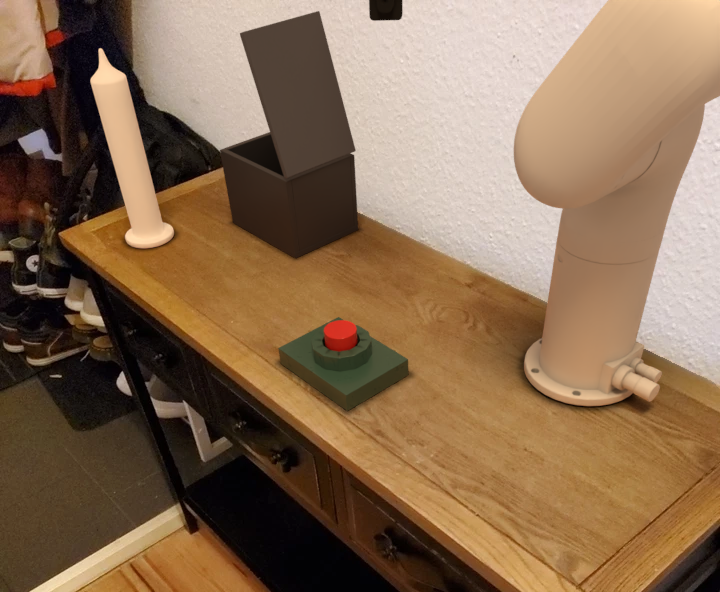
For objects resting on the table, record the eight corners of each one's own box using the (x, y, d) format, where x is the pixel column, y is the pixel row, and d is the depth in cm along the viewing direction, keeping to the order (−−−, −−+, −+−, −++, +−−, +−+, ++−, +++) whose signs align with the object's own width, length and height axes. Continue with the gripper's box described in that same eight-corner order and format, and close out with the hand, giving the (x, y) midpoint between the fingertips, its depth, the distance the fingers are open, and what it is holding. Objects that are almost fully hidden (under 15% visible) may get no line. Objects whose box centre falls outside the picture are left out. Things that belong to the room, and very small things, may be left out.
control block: (408, 375, 83) (408, 345, 80) (347, 411, 79) (345, 381, 76) (339, 332, 90) (337, 303, 87) (280, 363, 86) (275, 334, 83)
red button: (364, 342, 81) (363, 329, 80) (339, 356, 80) (338, 342, 79) (343, 329, 83) (342, 316, 82) (318, 342, 82) (317, 329, 81)
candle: (182, 238, 109) (137, 48, 91) (137, 253, 106) (82, 61, 88) (162, 221, 113) (116, 36, 95) (119, 235, 110) (63, 48, 92)
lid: (239, 33, 87) (242, 32, 87) (315, 12, 92) (319, 10, 92) (284, 178, 95) (287, 178, 94) (352, 151, 100) (356, 151, 100)
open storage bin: (232, 222, 111) (219, 149, 104) (293, 197, 116) (285, 126, 109) (295, 258, 103) (286, 181, 95) (358, 229, 108) (354, 154, 100)
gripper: (426, -220, 58) (422, 30, 70) (433, -230, 70) (429, -16, 82) (331, -214, 58) (343, 31, 71) (354, -226, 70) (362, -14, 83)
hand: (389, 6), depth 76 cm, fingers open, 9 cm apart
